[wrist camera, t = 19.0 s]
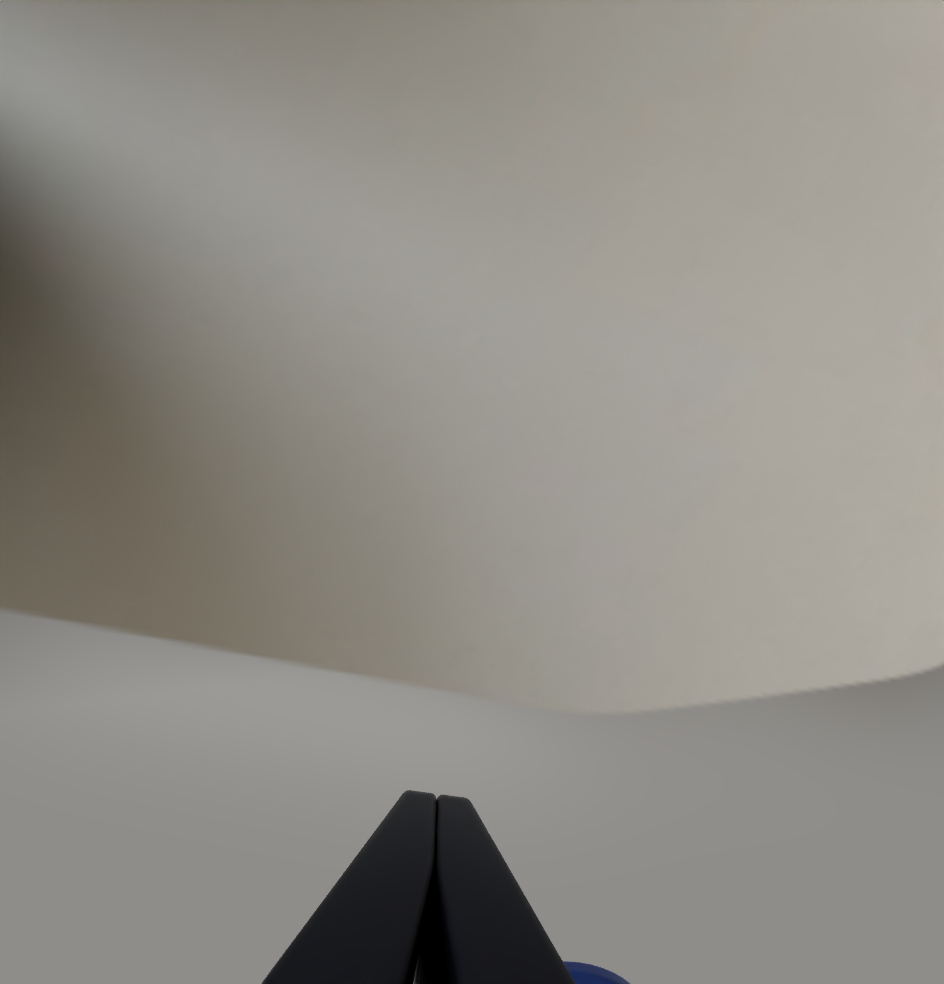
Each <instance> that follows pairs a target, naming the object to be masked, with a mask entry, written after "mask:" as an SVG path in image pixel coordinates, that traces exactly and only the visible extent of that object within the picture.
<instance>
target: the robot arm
mask: <svg viewBox="0 0 944 984" xmlns="http://www.w3.org/2000/svg"><path fill="white" fill-rule="evenodd" d="M413 983H414V984H575V982H574V981H573V979H572V977H571V975H570V974H569V972H568V970H567V968H566V967H565V965H564V963H563V961H562V960H561V958H560V956H559V955H558V953H557V951H556V949H555V948H554V946H553V944H552V942H551V941H550V939H549V937H548V935H547V934H546V932H545V930H544V928H543V927H542V925H541V923H540V921H539V920H538V918H537V916H536V915H535V913H534V911H533V909H532V907H531V906H530V904H529V902H528V901H527V899H526V897H525V896H524V894H523V892H522V890H521V888H520V887H519V885H518V883H517V881H516V880H515V878H514V876H513V874H512V873H511V871H510V869H509V868H508V866H507V864H506V862H505V861H504V859H503V857H502V855H501V854H500V852H499V850H498V848H497V847H496V845H495V843H494V841H493V840H492V838H491V836H490V834H489V833H488V831H487V829H486V827H485V826H484V824H483V822H482V820H481V819H480V817H479V815H478V814H477V812H476V810H475V808H474V807H473V805H472V803H471V802H470V800H468V799H467V798H464V797H455V796H448V795H440V796H439V797H438V798H437V801H436V797H435V795H434V794H432V793H425V792H418V791H411V790H410V791H406V792H405V793H403V794H402V796H401V797H400V798H399V800H398V801H397V803H396V804H395V805H394V806H393V808H392V809H391V810H390V812H389V813H388V814H387V816H386V817H385V819H384V820H383V821H382V822H381V824H380V825H379V827H378V828H377V829H376V831H375V832H374V833H373V835H372V836H371V837H370V839H369V840H368V841H367V843H366V844H365V845H364V847H363V848H362V849H361V851H360V852H359V854H358V855H357V856H356V857H355V859H354V860H353V861H352V863H351V864H350V865H349V867H348V868H347V869H346V871H345V872H344V873H343V875H342V876H341V878H340V879H339V880H338V881H337V883H336V884H335V886H334V887H333V888H332V890H331V891H330V892H329V894H328V895H327V896H326V898H325V899H324V900H323V902H322V903H321V904H320V906H319V907H318V908H317V910H316V911H315V912H314V914H313V915H312V916H311V918H310V919H309V921H308V922H307V923H306V924H305V926H304V927H303V929H302V930H301V931H300V933H299V934H298V935H297V936H296V938H295V939H294V941H293V942H292V943H291V945H290V946H289V947H288V949H287V950H286V951H285V953H284V954H283V955H282V957H281V958H280V959H279V961H278V962H277V963H276V965H275V966H274V967H273V969H272V970H271V972H270V973H269V974H268V975H267V977H266V978H265V980H264V981H263V982H262V984H413Z"/></svg>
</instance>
